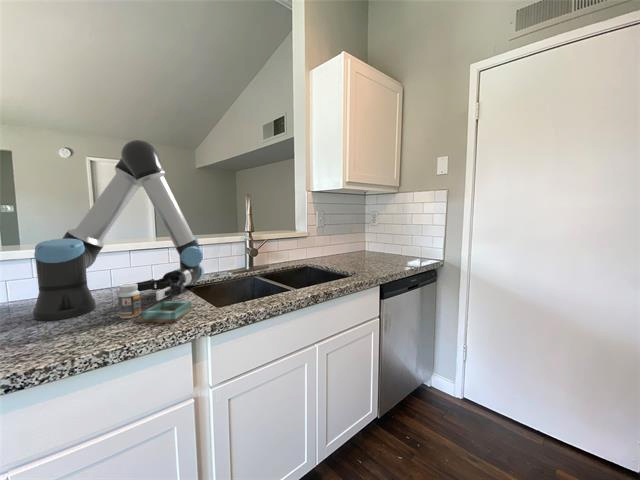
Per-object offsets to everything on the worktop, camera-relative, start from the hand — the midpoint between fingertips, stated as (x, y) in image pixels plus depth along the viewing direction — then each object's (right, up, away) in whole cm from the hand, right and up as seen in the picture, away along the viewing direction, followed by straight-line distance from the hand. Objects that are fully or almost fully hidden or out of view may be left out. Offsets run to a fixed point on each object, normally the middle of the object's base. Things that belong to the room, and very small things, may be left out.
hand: (137, 295), depth 91 cm
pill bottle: (-1, -6, -1) cm, 6 cm away
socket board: (+10, -6, -2) cm, 12 cm away
